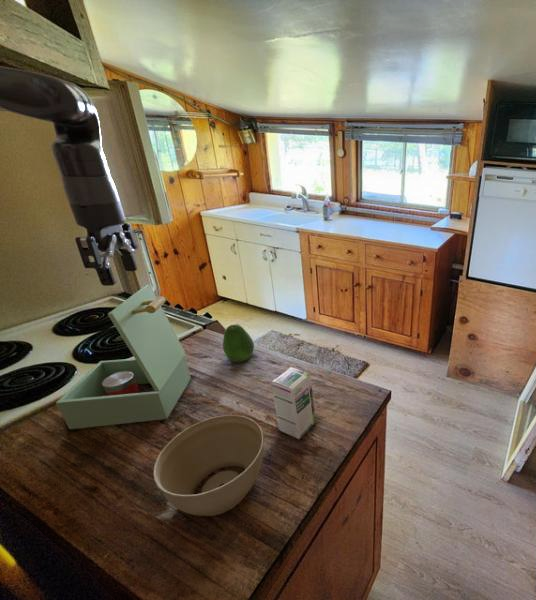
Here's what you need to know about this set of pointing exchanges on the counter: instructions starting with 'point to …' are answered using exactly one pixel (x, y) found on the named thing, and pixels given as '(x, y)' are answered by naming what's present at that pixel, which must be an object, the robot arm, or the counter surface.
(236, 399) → the counter surface
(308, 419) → the syrup box
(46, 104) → the robot arm
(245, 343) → the avocado
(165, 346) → the lid
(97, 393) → the chest
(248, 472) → the planter bowl
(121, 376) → the can
